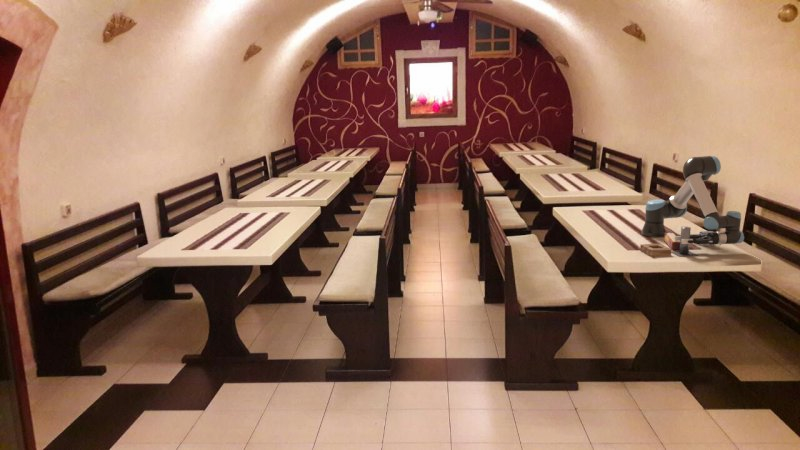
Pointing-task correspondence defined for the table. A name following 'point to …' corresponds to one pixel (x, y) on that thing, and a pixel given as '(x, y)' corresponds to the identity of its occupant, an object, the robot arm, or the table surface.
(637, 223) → the table surface
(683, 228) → the pin
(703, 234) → the medicine box
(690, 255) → the mat
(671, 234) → the snack package
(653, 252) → the socket block
